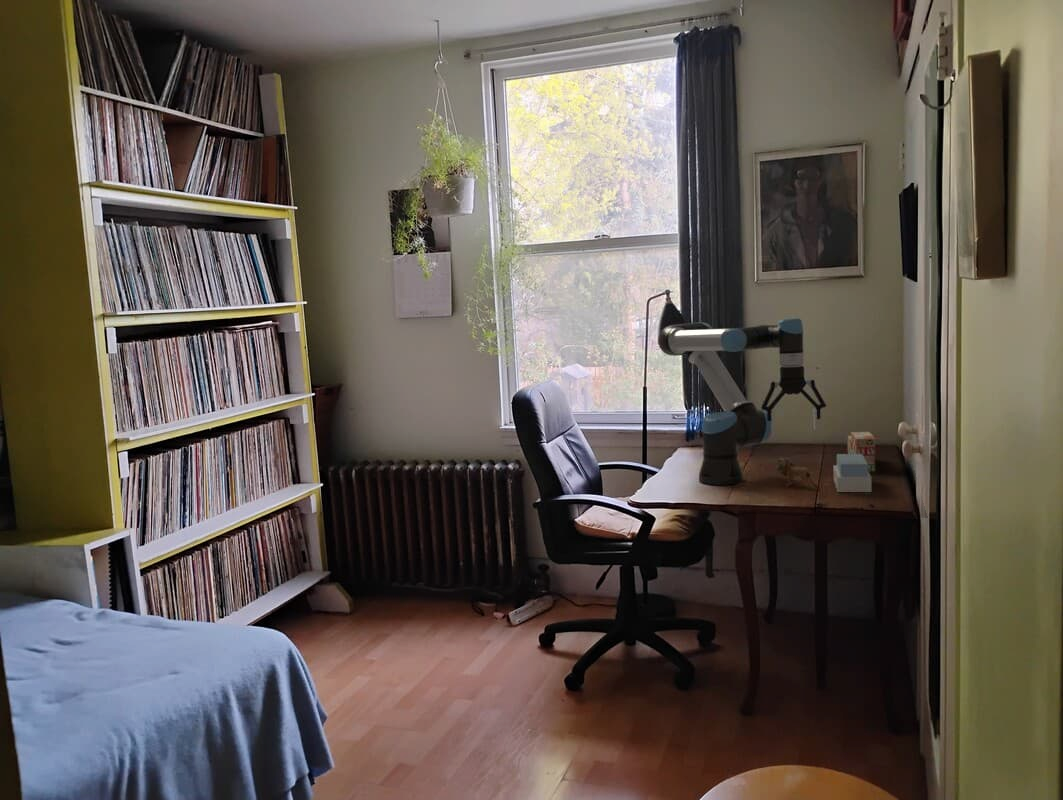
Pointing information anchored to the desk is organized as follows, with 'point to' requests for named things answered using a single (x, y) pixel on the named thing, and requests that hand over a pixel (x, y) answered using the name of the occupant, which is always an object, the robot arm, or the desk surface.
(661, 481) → the desk surface
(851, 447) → the stack of blocks
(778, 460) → the lion figurine
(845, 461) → the two-tone layered slab
